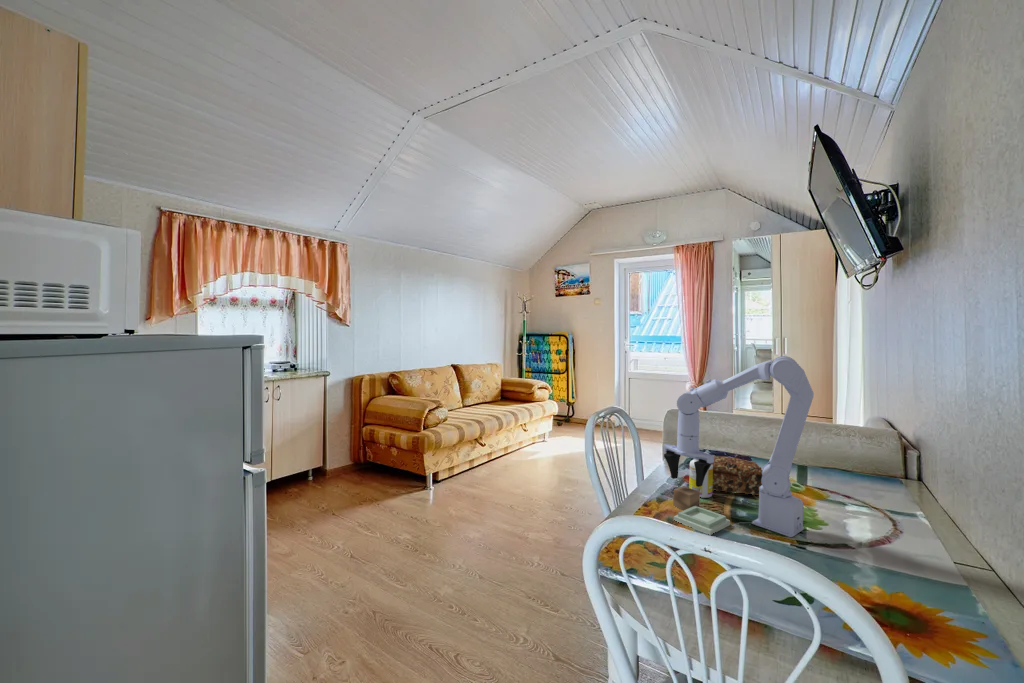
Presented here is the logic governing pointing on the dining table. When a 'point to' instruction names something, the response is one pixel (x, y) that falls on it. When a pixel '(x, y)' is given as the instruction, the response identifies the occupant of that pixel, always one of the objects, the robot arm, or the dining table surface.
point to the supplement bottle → (707, 483)
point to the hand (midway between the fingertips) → (686, 481)
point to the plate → (702, 520)
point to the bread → (736, 475)
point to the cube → (685, 498)
